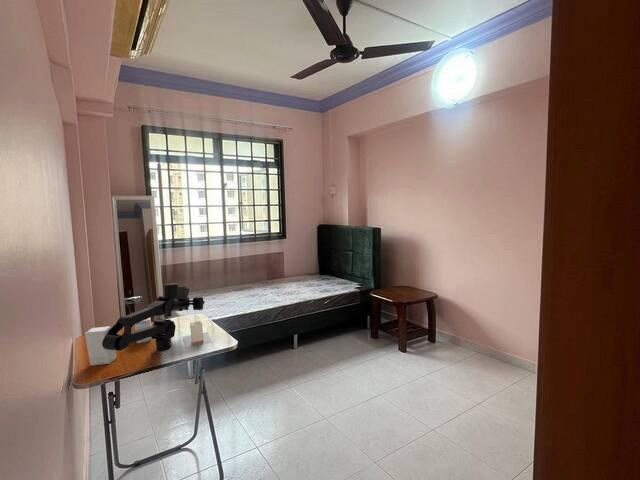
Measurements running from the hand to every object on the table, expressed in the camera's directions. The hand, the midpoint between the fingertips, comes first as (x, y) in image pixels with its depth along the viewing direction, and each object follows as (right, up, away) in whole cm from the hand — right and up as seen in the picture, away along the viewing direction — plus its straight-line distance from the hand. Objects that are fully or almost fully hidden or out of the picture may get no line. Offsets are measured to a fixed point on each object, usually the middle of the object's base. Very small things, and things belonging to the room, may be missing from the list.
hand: (196, 301), depth 177 cm
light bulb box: (-24, -18, -5) cm, 30 cm away
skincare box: (-29, -20, -31) cm, 47 cm away
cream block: (+6, -16, -16) cm, 24 cm away
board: (+2, -16, -8) cm, 18 cm away
